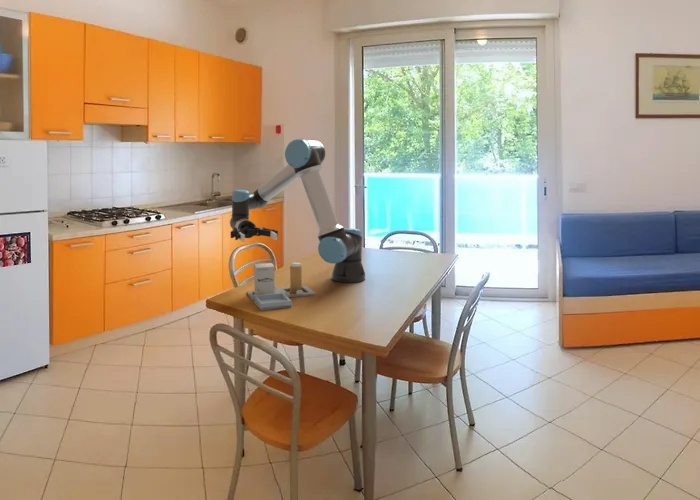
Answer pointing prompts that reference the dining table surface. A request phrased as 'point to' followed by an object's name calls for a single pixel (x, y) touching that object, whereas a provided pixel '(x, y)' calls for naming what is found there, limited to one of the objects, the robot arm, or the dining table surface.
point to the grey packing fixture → (283, 290)
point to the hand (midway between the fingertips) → (260, 237)
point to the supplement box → (264, 279)
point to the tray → (272, 301)
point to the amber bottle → (295, 277)
